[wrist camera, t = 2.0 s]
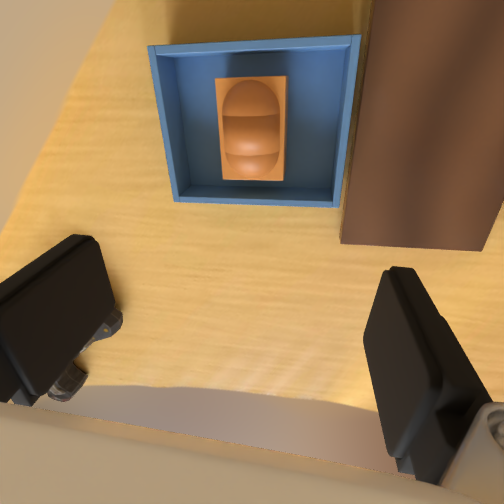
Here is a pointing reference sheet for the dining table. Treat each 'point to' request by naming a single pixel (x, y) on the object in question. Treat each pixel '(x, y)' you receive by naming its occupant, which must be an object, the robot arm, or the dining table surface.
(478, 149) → the board
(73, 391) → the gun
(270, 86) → the bread
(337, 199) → the bin
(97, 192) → the dining table surface
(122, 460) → the robot arm
